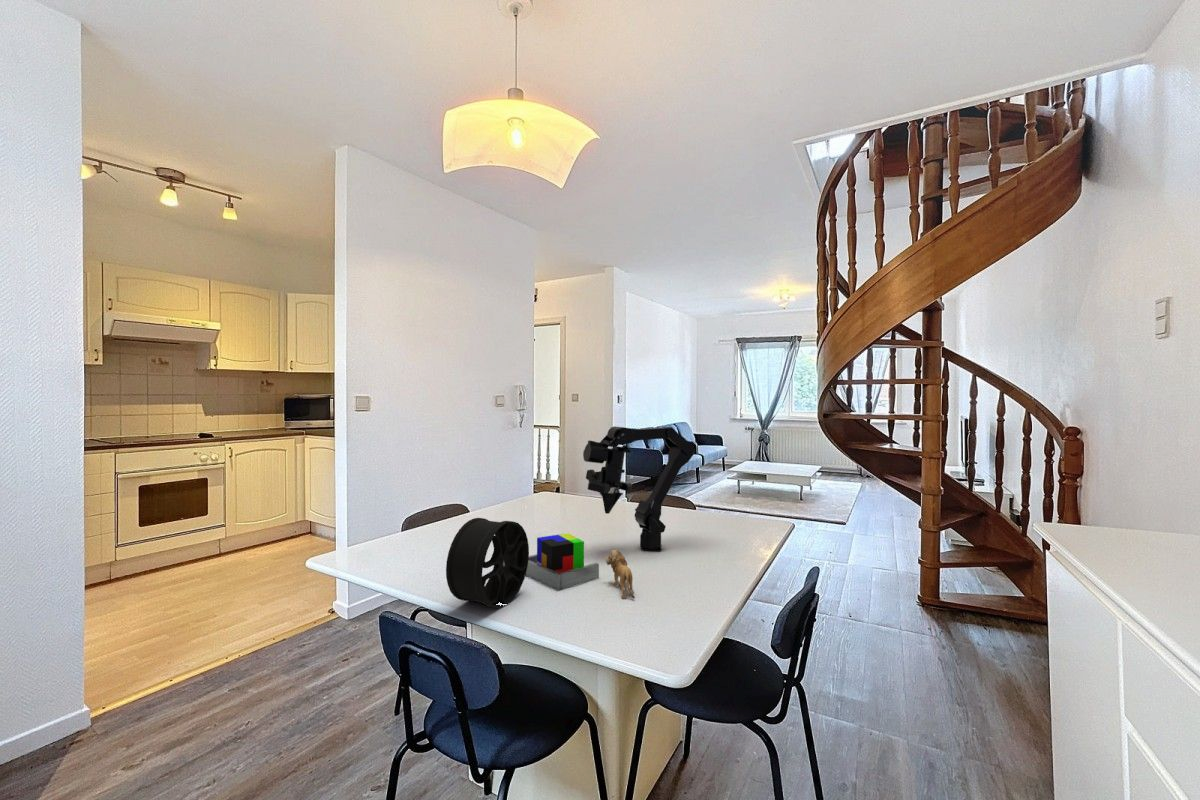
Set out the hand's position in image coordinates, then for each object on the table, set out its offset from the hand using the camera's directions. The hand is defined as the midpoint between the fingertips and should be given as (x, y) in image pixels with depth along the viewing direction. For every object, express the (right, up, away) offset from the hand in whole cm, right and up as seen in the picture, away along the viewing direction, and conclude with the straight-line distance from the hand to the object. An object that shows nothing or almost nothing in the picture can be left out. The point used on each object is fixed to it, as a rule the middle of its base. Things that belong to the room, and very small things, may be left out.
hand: (607, 513), depth 162 cm
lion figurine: (+3, -14, -30) cm, 33 cm away
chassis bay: (-14, -13, -19) cm, 27 cm away
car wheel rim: (-30, -13, -38) cm, 50 cm away
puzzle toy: (-14, -14, -18) cm, 27 cm away
